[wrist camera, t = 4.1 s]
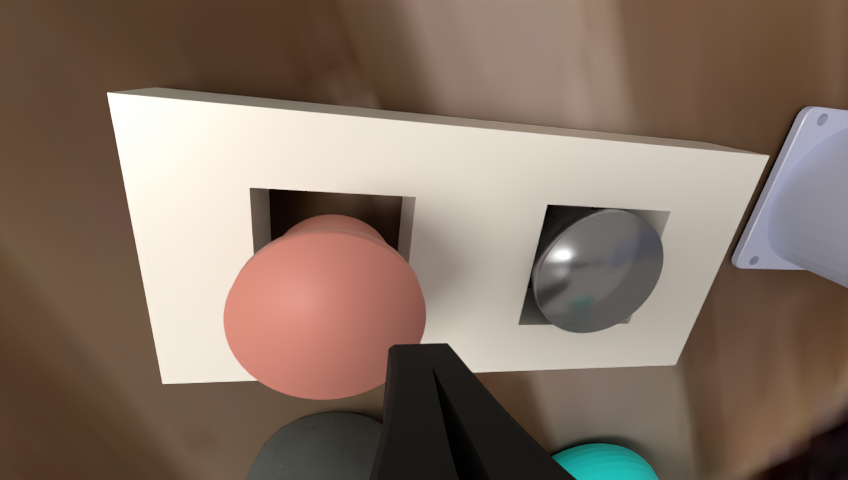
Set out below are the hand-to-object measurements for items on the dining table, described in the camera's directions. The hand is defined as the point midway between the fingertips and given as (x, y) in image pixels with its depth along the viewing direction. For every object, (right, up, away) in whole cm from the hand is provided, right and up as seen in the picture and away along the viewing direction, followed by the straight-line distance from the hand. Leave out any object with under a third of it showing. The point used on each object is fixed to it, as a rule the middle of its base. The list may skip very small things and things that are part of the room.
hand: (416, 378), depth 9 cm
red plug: (-3, +2, +4) cm, 6 cm away
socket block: (+1, +3, +8) cm, 9 cm away
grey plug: (+6, +3, +9) cm, 11 cm away
